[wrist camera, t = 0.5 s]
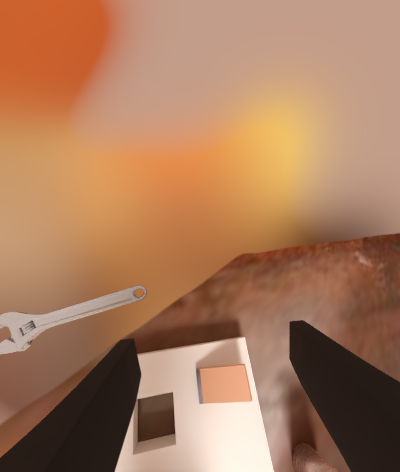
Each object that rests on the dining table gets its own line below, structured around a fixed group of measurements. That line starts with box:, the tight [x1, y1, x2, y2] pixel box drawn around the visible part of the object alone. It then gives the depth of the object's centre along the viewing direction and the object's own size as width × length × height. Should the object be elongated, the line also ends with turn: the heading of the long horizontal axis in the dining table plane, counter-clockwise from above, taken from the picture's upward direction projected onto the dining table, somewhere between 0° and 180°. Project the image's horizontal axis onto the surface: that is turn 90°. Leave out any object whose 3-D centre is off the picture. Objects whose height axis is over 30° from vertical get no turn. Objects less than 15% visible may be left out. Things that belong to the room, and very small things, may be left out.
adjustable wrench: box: [0, 285, 147, 354], centre depth 32 cm, size 25×6×2 cm, turn 104°
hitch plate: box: [115, 337, 274, 472], centre depth 27 cm, size 16×20×3 cm
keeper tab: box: [196, 364, 252, 404], centre depth 26 cm, size 4×7×1 cm, turn 98°
